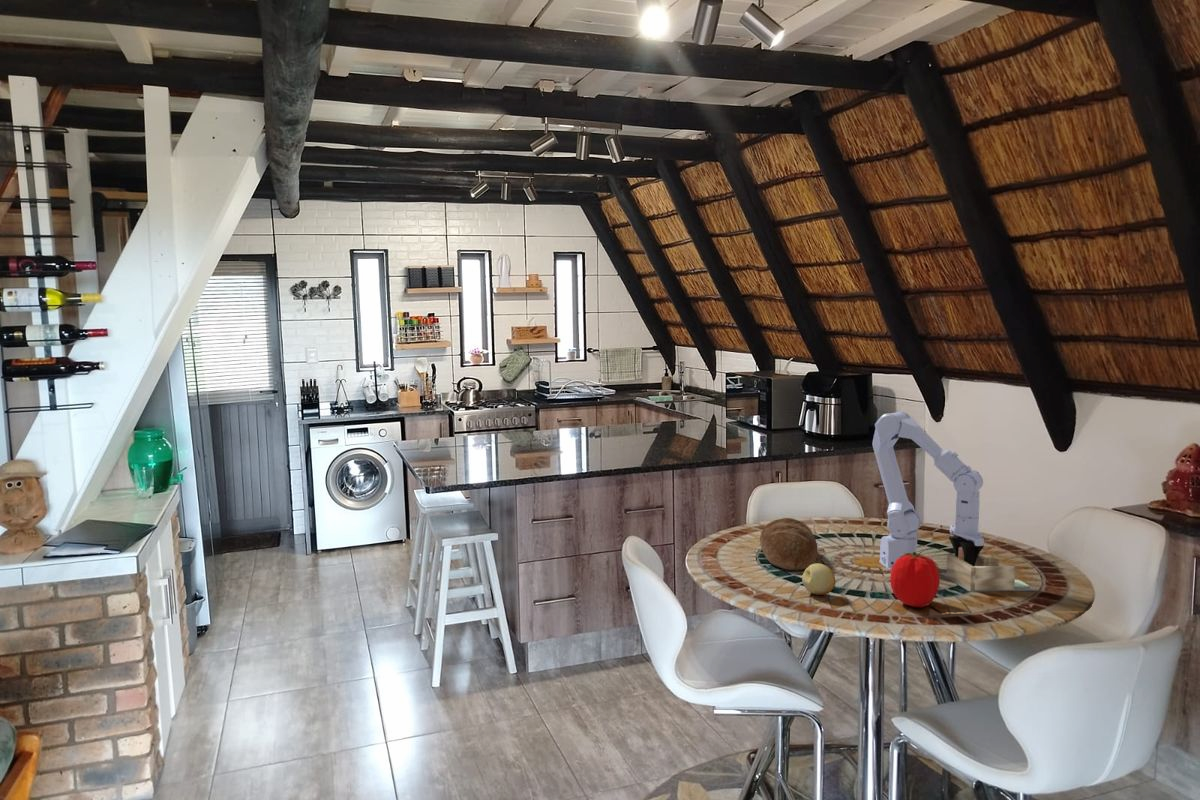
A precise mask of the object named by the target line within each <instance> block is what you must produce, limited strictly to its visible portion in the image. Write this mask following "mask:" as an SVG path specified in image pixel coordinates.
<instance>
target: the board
mask: <svg viewBox="0 0 1200 800" xmlns="http://www.w3.org/2000/svg"><path fill="white" fill-rule="evenodd" d="M939 575H942V576H944V577H945V578H946V579H948V580H950V581H952V582H953V583H954V584H957V585H958V586H959V587H961V588H962V589H964V590H966V591H967V592H973V593H974V592H1017V591H1018V592H1019V591H1020V592H1021V591H1022V592H1023V591H1024V592H1025V591H1026V592H1027V591H1029V592H1031V591H1037V589H1035V588H1034V587H1031V586H1030V585H1029V587H1014V590H972V591H970V590H969V589H967V588H965V587H964V586H962V585H961V584H959V583H957V582H956V581H954V580H953V579H951V578H949V577H948V576H946V572H939ZM1015 580H1018V579H1017V578H1015Z"/></svg>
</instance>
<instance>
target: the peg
mask: <svg viewBox="0 0 1200 800" xmlns="http://www.w3.org/2000/svg"><path fill="white" fill-rule="evenodd" d="M958 558H960V559H961V560H963V561H964V553H963V549H962V546H960V547H959V553H958Z"/></svg>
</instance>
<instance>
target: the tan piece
mask: <svg viewBox="0 0 1200 800" xmlns="http://www.w3.org/2000/svg"><path fill="white" fill-rule="evenodd" d="M945 573H946V576H948V577H949V578H951V579H953V580H954V581H956V582H957V583H959V584H961V585H962V586H964V587H965V588H967V589H969V590H970V591H972V590H1014V582H1015V579H1016V578H1015V577H1016V566H1013V565H1000V558H999V557H985V556H984V555H982V554H980V553H979V555H978V557H977V560H976V563H975V566H972V565H970V564H968V563H967V562H965V561H963V560H961V559H960V558H958V557H956V556H955V554H952V553H947V555H946V572H945Z"/></svg>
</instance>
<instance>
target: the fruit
mask: <svg viewBox="0 0 1200 800" xmlns="http://www.w3.org/2000/svg"><path fill="white" fill-rule="evenodd" d="M801 581H802V584H803V586H804V588H805V589H806V591H808V592H809V593H811V594H814V595H818V596H821V595H827V594H830V592H832V590H833V589H834V588H835V587H836V577H835V574H834V572H833V570H832V569H831V568H830V567H828V566H827V565H825V564H823V563H819V562H817V563H816V562H815V563H814V564H811V565H810V566H809V567H808V568H806V569H804V571H803V573H802V576H801Z"/></svg>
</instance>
